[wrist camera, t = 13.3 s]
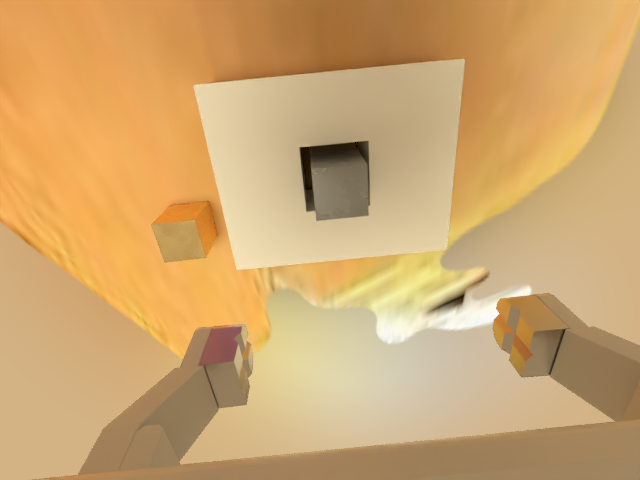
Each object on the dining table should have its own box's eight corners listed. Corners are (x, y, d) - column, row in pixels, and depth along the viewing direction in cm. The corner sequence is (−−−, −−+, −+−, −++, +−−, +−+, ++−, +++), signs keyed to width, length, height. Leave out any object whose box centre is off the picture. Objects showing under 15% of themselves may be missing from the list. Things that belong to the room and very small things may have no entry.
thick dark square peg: (309, 142, 33) (310, 169, 24) (350, 138, 33) (367, 163, 24) (312, 181, 34) (316, 220, 26) (351, 178, 34) (368, 215, 26)
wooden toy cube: (170, 205, 35) (151, 224, 31) (208, 200, 35) (194, 219, 31) (181, 239, 37) (164, 262, 32) (217, 235, 37) (205, 257, 32)
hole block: (212, 82, 30) (193, 84, 25) (436, 60, 30) (465, 58, 25) (246, 241, 37) (236, 270, 32) (426, 223, 37) (446, 249, 32)
